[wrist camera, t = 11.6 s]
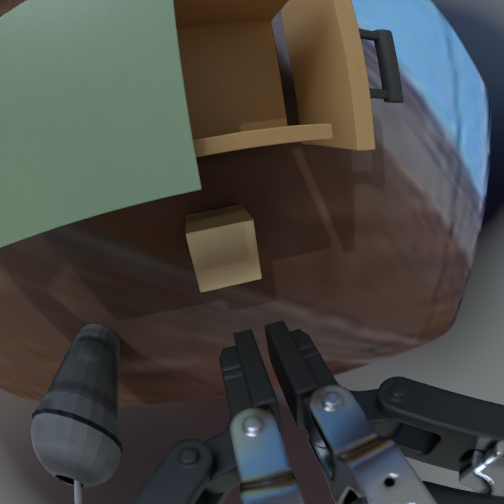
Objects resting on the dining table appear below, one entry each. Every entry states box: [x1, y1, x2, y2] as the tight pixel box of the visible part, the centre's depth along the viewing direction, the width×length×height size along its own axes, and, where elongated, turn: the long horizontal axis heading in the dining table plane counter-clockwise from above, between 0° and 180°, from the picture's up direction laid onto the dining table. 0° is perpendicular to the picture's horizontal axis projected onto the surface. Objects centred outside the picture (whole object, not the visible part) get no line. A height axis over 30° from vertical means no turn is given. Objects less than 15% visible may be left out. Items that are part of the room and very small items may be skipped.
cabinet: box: [0, 0, 202, 248], centre depth 12 cm, size 15×13×10 cm
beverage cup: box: [31, 324, 123, 504], centre depth 15 cm, size 7×7×20 cm
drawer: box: [174, 0, 403, 158], centre depth 14 cm, size 18×11×8 cm, turn 98°
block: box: [186, 204, 262, 292], centre depth 21 cm, size 4×4×4 cm
